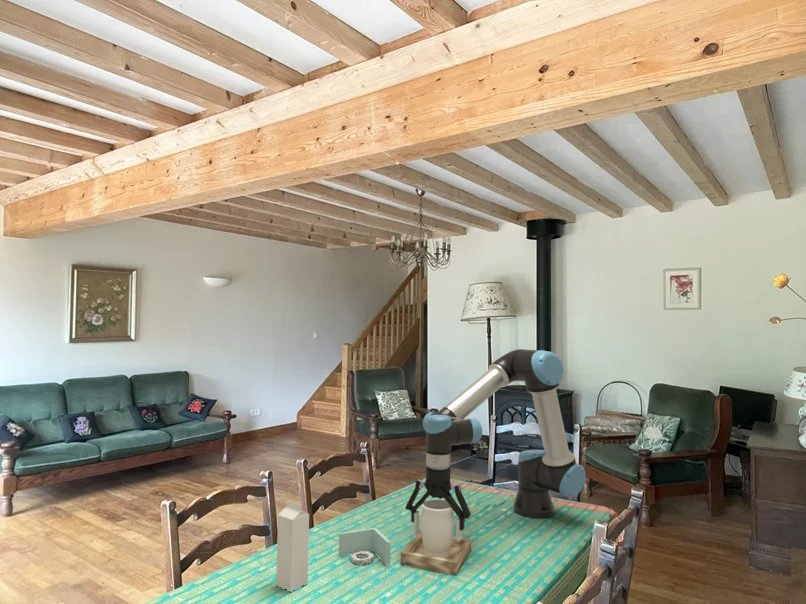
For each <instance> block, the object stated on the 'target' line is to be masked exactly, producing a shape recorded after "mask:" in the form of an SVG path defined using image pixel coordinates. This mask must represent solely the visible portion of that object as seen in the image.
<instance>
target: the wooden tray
mask: <svg viewBox="0 0 806 604" xmlns="http://www.w3.org/2000/svg"><path fill="white" fill-rule="evenodd" d="M456 541H457V536H453V540H452V544H451V547H450V549H449V550H450V552H451V555H450V556H449V557H448V558H439V557H434V556H428V555H424V549H425V547H424V545H423V541H422V533H421V530H419V532H418V534H417V535H415V537H414V538H413V539H412V540H411V541H410V542H409V543H408V545H407V546H405V547H404V548H403V549H402V550H401V552H400V564H402V565H401V566H404V565H407V566H406V567H409V566H411V567H410V568H414V567H416V568H415V569H419V568H421V569H420V570H426V571H430V572H436V573H440V572H441V573H440V574H444V575H452V576H457V575H458V573H459V572H460V570H461V568H462V567H463V565H464V563H465V562H466V560H467V558H468V557H469V555H470V554H471V552H472V539H470V538H465V537H461V540H460V541H459V542H456Z"/></svg>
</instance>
